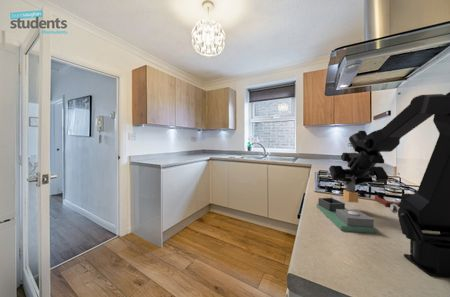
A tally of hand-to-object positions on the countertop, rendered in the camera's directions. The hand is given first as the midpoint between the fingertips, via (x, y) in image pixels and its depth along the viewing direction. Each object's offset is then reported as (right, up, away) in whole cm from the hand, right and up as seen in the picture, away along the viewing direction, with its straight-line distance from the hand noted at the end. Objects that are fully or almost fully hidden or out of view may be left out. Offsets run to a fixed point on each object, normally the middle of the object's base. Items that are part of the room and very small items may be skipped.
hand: (349, 184), depth 73 cm
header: (-10, -9, -3) cm, 14 cm away
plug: (0, -7, -1) cm, 7 cm away
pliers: (+21, -11, +4) cm, 25 cm away
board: (-10, -11, -9) cm, 17 cm away
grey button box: (-10, -10, -15) cm, 20 cm away
